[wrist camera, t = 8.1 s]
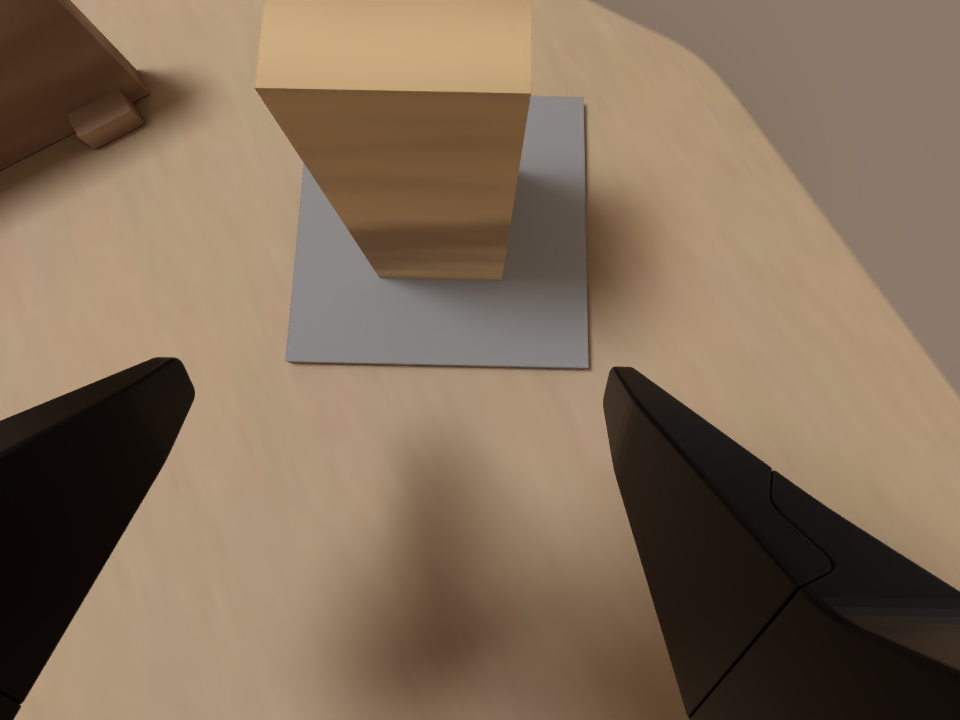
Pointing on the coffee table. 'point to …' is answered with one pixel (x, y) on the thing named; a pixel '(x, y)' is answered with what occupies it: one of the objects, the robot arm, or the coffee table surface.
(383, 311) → the felt mat
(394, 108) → the letter block
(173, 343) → the coffee table surface
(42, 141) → the walnut screen
